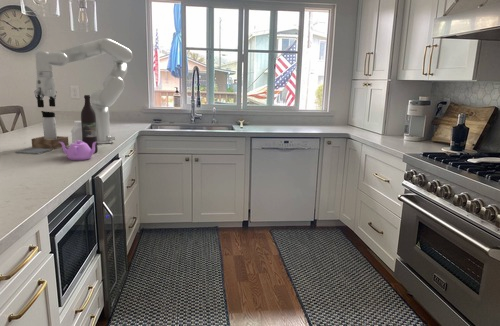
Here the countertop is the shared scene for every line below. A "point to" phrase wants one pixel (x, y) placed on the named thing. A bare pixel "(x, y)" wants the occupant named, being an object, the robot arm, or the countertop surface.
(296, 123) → the countertop surface
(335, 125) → the countertop surface
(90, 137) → the wine bottle
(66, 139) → the collar
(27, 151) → the mat
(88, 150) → the teapot
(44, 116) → the travel mug
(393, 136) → the countertop surface
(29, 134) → the countertop surface
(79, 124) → the jar
